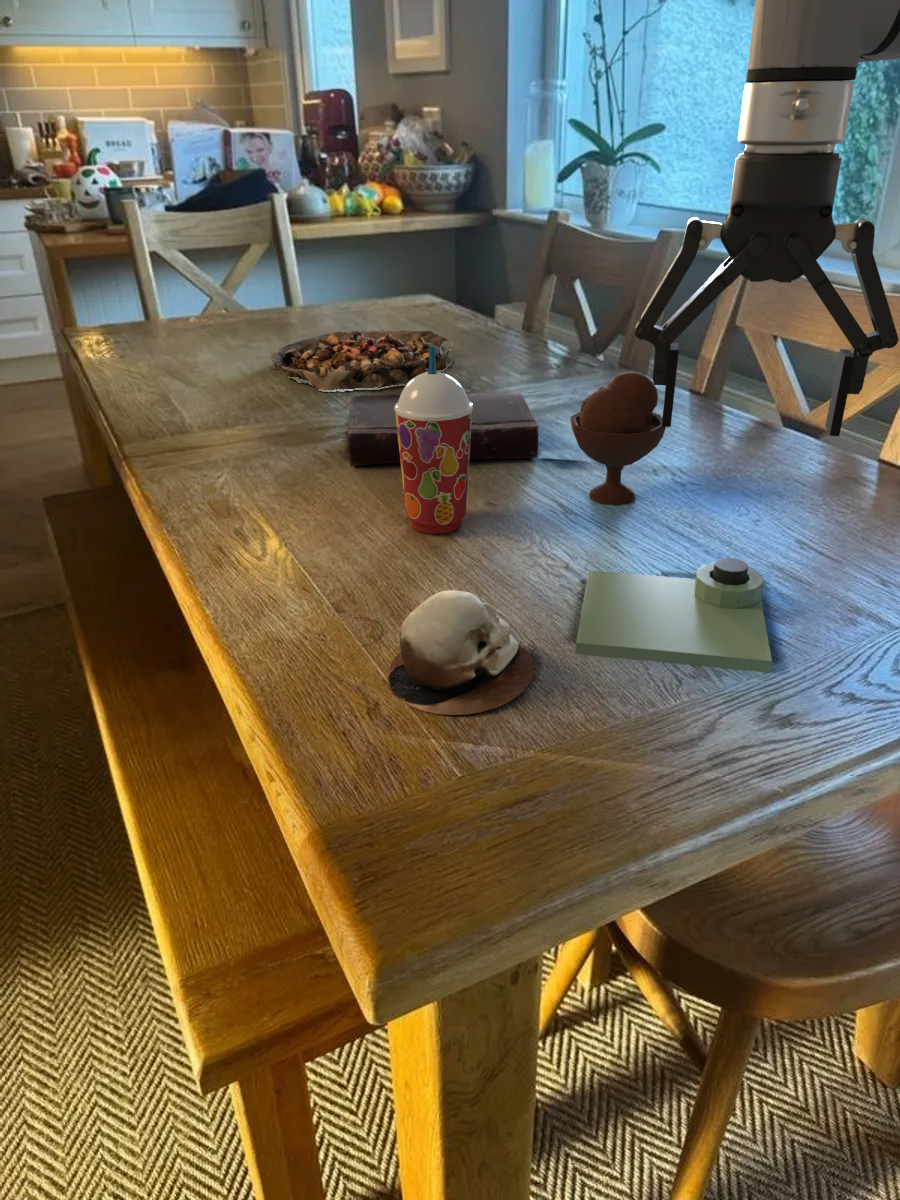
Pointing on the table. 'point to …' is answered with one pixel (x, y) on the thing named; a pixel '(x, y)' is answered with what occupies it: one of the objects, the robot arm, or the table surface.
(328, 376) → the food dish
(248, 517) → the table surface
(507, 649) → the skull
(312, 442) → the table surface
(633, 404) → the ice cream bowl
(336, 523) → the table surface
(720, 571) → the button
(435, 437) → the smoothie
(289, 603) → the table surface
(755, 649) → the scale
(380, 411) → the diary
